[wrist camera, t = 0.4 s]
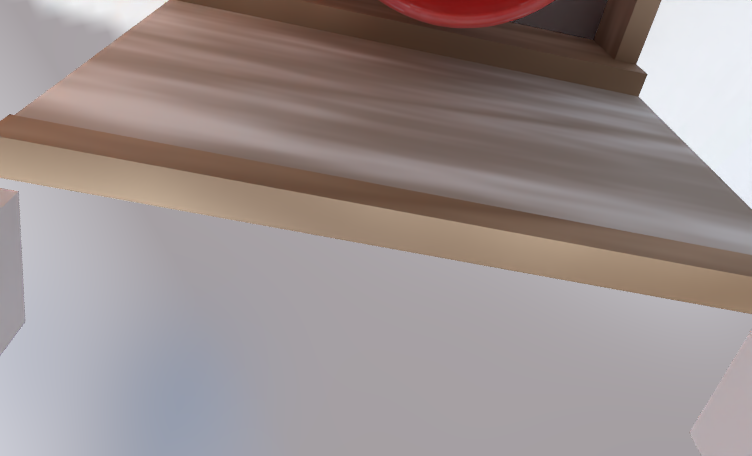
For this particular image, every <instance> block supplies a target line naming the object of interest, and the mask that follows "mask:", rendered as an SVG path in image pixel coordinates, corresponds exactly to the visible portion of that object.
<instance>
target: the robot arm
mask: <svg viewBox="0 0 752 456" xmlns="http://www.w3.org/2000/svg"><path fill="white" fill-rule="evenodd" d="M21 249H22V248H21V229H20V209H19V191H14V190H8V189H3V188H0V355H1V354H2V353H3V351H4V350H5V349H6V347H7V346H8V345H9V343H10V342H11V340H12V339H13V338H14V336H15V335H16V334H17V332H18V331H19V330H20V328H21V327H22V326H23V324H24V323H25V309H24V308H25V307H24V287H23V269H22V250H21ZM689 433H690V435H691V437H692V439H693V441H694V443H695V445H696V447H697V449H698V451H699V452H700V455H701V456H752V330H751V331H750V333H749V334H748V336H747V338H746V340H745V341H744V343H743V344H742V346H741V348H740V349H739V351H738V353H737V354H736V356H735V358H734V359H733V361H732V363H731V364H730V366H729V368H728V369H727V371H726V373H725V374H724V376H723V378H722V379H721V381H720V383H719V384H718V386H717V387H716V389H715V391H714V392H713V394H712V396H711V397H710V399H709V401H708V402H707V404H706V406H705V407H704V409H703V411H702V413H701V414H700V416H699V417H698V419H697V421H696V422H695V424H694V426H693V427H692V429H691V431H690V432H689Z"/></svg>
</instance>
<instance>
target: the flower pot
mask: <svg viewBox="0 0 752 456" xmlns="http://www.w3.org/2000/svg"><path fill="white" fill-rule="evenodd" d="M379 1H381V2H382V3H384V4H385V5H387V6H388V7H390V8H392V9H393V10H395V11H397V12H399V13H401V14H403V15H405V16H408V17H410V18H413V19H415V20H418V21H421V22H425V23H428V24H432V25H436V26H442V27H449V28H481V27H490V26H495V25H499V24H504V23H507V22H510V21H514V20H517V19H520V18H523V17H525V16H527V15H530V14H532V13H534V12H536V11H538V10H540V9H542V8H544V7H545V6H547V5H548V4H550V3H552V2H553V1H555V0H379Z"/></svg>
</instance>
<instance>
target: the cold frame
mask: <svg viewBox="0 0 752 456" xmlns="http://www.w3.org/2000/svg"><path fill="white" fill-rule="evenodd" d="M660 2H661V0H608V1H607V4H606V6H605V9H604V12H603V15H602V18H601V20H600V23H599V26H598V29H597V32H596V34H595V37H594V40H592V39H587V38H582V37H578V36H573V35H568V34H564V33H559V32H554V31H550V30H545V29H540V28H536V27H531V26H527V25H522V24H517V23H513V22H507V23H504V24H499V25H495V26H490V27H481V28H449V27H442V26H436V25H432V24H428V23H425V22H421V21H418V20H415V19H413V18H410V17H408V16H405V15H403V14H401V13H399V12H397V11H395V10H393V9H392V8H390V7H388V6H387V5H385V4H384V3H382V2H381V1H379V0H169V1H168V2H166V3H165V4H164V5H162V6H161V7H159V8H158V9H157V10H155V11H154V12H153V13H151V14H150V15H149V16H147V17H146V18H145V19H143V20H142V21H141V22H139V23H138V24H137V25H135V26H134V27H132V28H131V29H130V30H128V31H127V32H126V33H124V34H123V35H122V36H120V37H119V38H118V39H116V40H115V41H114V42H112V43H111V44H110V45H108V46H107V47H106V48H104V49H103V50H101V51H100V52H99V53H97V54H96V55H95V56H93V57H92V58H91V59H89V60H88V61H87V62H86V63H84V64H83V65H81V66H80V67H79V68H77V69H76V70H75V71H73V72H72V73H70V74H69V75H68V76H66V77H65V78H64V79H63V80H61V81H60V82H58V83H57V84H56V85H54V86H53V87H52V88H50V89H49V90H47V91H46V92H45V93H43V94H42V95H41V96H39V97H38V98H37V99H35V100H34V101H33V102H31V103H30V104H29V105H27V106H26V107H25V108H23V109H22V110H21V111H19V112H18V113H16V114H15V115H11V114H9V115H8V116H7V117H5V118H4V119H3V120H1V121H0V178H4V179H10V180H15V181H21V182H27V183H32V184H37V185H43V186H49V187H54V188H60V189H65V190H70V191H76V192H81V193H87V194H92V195H98V196H104V197H109V198H115V199H120V200H126V201H131V202H137V203H142V204H148V205H154V206H159V207H164V208H170V209H175V210H181V211H187V212H192V213H198V214H204V215H208V216H214V217H219V218H225V219H230V220H236V221H241V222H247V223H252V224H258V225H263V226H269V227H275V228H280V229H286V230H292V231H297V232H303V233H308V234H313V235H319V236H324V237H330V238H335V239H341V240H346V241H352V242H357V243H363V244H368V245H374V246H380V247H385V248H390V249H396V250H401V251H407V252H412V253H418V254H424V255H429V256H435V257H440V258H445V259H451V260H457V261H462V262H468V263H473V264H479V265H484V266H490V267H495V268H501V269H506V270H512V271H517V272H523V273H528V274H534V275H539V276H545V277H550V278H556V279H561V280H567V281H573V282H578V283H584V284H589V285H594V286H600V287H605V288H612V289H616V290H623V291H628V292H633V293H639V294H644V295H650V296H655V297H661V298H666V299H672V300H677V301H683V302H689V303H694V304H699V305H705V306H710V307H716V308H721V309H727V310H732V311H739V312H743V313H749V314H752V209H751V208H750V207H749V206H748V205H747V204H746V203H745V202H744V201H743V200H742V199H741V198H740V197H739V196H738V195H737V194H736V193H735V192H734V191H733V190H732V189H731V188H730V187H729V186H728V185H727V184H726V183H725V182H724V181H723V180H722V179H721V178H720V177H719V176H718V175H717V174H716V173H715V172H714V171H713V170H712V169H711V168H710V167H709V166H708V165H707V164H706V163H705V162H704V161H703V160H701V159H700V158H699V157H698V156H697V155H696V154H695V153H694V152H693V151H692V150H691V149H690V148H689V147H688V146H687V145H686V144H685V143H684V142H683V141H682V140H681V139H680V138H679V137H678V136H677V135H676V134H675V133H674V132H673V131H672V130H671V129H670V128H669V127H668V126H667V125H666V124H665V123H664V122H663V121H662V120H661V119H660V118H659V117H658V116H657V115H656V114H655V113H654V112H653V111H652V110H651V109H650V108H649V107H648V106H647V105H646V104H645V103H644V102H643V101H642V100H641V99H640V98H639V97H638V96H639V94H640V91H641V89H642V86H643V84H644V81H645V79H646V77H647V74H646V73H645V72H644V71H643V70H642V69H641V68H640V67H639V66H637V65H636V63H637V61H638V58H639V56H640V53H641V51H642V48H643V45H644V43H645V40H646V38H647V35H648V33H649V30H650V28H651V25H652V23H653V20H654V18H655V15H656V13H657V10H658V8H659V5H660Z"/></svg>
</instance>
